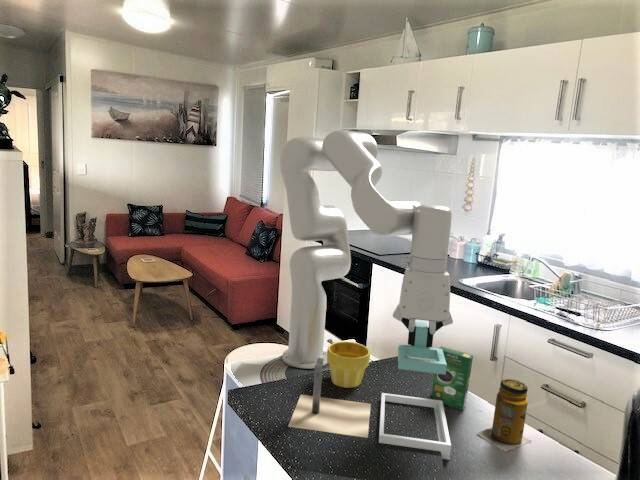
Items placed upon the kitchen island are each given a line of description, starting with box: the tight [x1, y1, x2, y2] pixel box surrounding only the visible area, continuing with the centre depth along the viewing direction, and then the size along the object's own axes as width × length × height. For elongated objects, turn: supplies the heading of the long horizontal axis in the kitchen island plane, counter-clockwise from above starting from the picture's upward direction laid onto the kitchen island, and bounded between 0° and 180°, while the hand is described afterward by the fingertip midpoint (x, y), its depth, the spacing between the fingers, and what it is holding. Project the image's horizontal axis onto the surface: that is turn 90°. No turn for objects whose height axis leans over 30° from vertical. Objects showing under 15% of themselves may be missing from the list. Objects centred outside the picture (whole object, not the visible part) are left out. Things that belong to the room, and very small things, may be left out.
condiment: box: [476, 378, 532, 452], centre depth 104 cm, size 7×8×12 cm
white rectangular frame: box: [378, 392, 452, 461], centre depth 105 cm, size 18×14×3 cm
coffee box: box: [430, 345, 474, 411], centre depth 117 cm, size 8×3×13 cm, turn 59°
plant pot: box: [326, 341, 371, 389], centre depth 122 cm, size 10×10×10 cm
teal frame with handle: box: [397, 321, 447, 375], centre depth 103 cm, size 9×14×6 cm, turn 172°
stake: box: [312, 358, 324, 414], centre depth 106 cm, size 5×2×11 cm, turn 172°
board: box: [287, 394, 372, 439], centre depth 106 cm, size 14×16×2 cm
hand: (419, 348), depth 107 cm, fingers closed on teal frame with handle
